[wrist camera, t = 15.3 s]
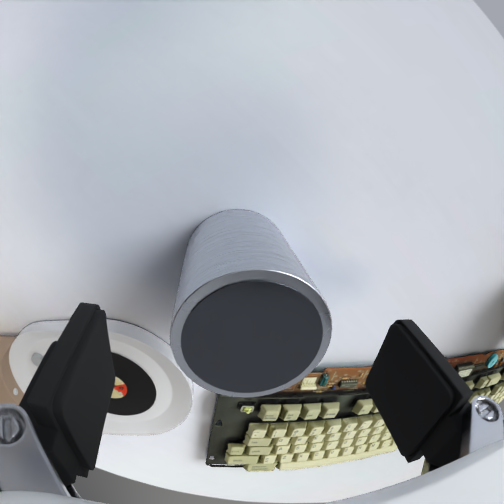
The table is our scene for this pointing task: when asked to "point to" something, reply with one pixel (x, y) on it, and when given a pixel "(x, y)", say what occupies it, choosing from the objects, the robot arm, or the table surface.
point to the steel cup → (246, 309)
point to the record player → (126, 376)
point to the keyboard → (323, 418)
